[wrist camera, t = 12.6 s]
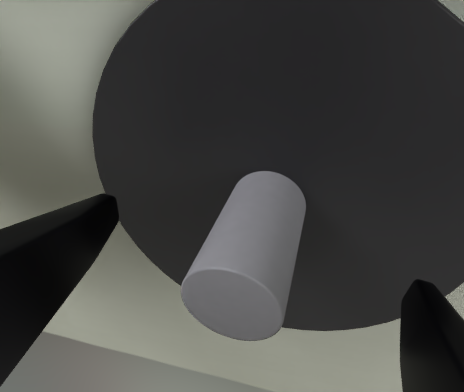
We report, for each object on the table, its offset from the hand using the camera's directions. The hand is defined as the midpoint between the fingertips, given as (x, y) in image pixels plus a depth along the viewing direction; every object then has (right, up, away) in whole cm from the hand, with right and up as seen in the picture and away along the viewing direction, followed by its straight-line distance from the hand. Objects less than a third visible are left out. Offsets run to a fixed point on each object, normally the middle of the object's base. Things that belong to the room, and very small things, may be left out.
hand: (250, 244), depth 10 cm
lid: (+1, +2, +2) cm, 3 cm away
